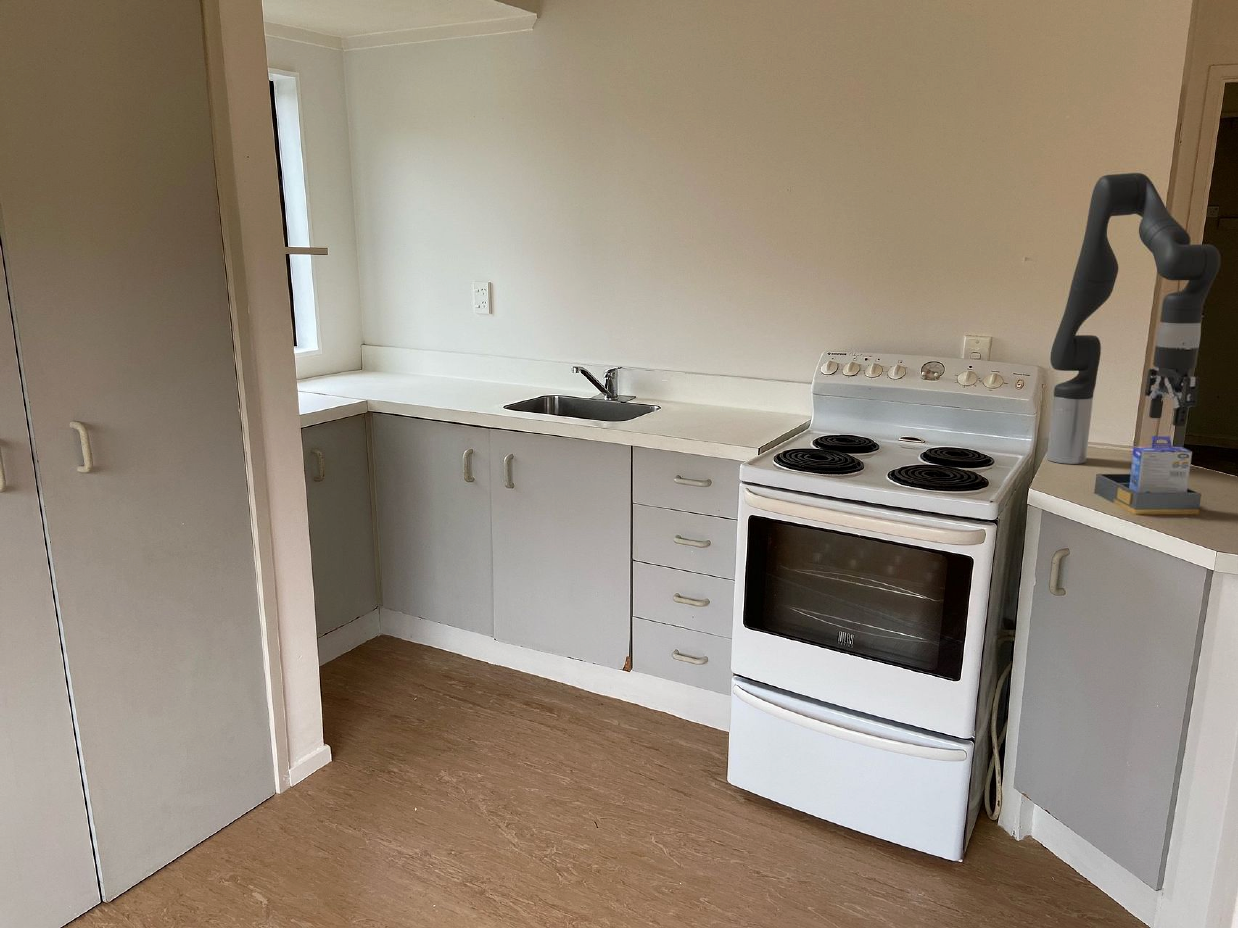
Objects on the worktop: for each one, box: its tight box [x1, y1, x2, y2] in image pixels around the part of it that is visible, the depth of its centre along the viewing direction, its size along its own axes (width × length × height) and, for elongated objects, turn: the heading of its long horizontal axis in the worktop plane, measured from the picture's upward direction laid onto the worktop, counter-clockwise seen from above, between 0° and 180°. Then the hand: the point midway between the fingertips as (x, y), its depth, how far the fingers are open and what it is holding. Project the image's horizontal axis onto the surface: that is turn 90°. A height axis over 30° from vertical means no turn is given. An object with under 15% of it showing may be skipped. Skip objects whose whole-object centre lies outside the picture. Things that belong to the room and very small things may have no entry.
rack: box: [1093, 473, 1202, 515], centre depth 185 cm, size 17×13×4 cm
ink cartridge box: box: [1129, 435, 1193, 493], centre depth 180 cm, size 10×6×14 cm, turn 80°
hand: (1166, 421), depth 177 cm, fingers open, 8 cm apart
